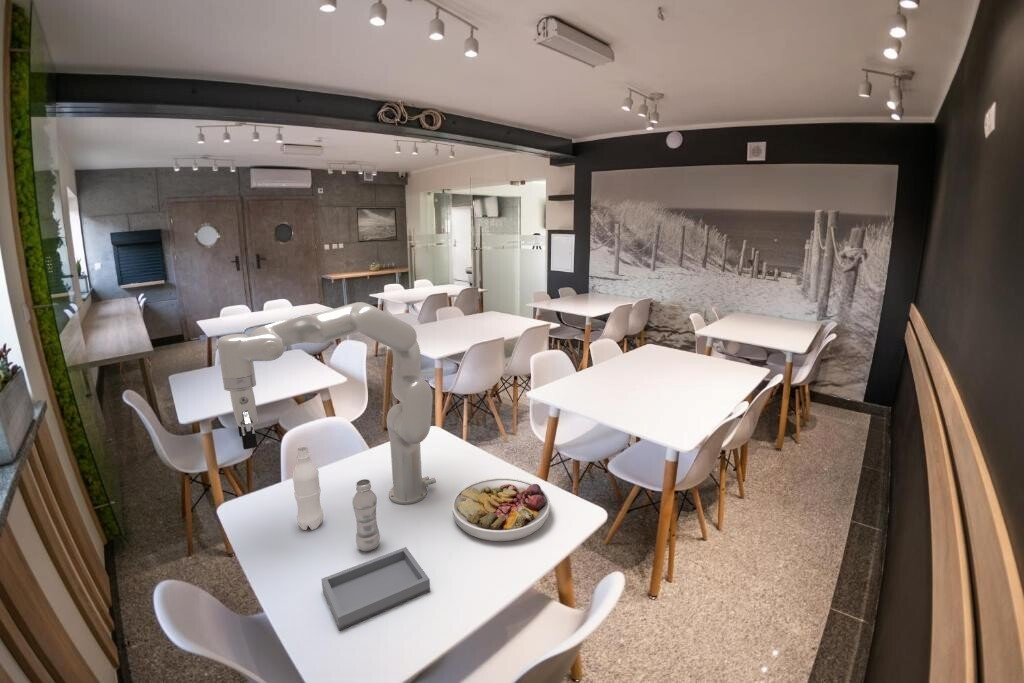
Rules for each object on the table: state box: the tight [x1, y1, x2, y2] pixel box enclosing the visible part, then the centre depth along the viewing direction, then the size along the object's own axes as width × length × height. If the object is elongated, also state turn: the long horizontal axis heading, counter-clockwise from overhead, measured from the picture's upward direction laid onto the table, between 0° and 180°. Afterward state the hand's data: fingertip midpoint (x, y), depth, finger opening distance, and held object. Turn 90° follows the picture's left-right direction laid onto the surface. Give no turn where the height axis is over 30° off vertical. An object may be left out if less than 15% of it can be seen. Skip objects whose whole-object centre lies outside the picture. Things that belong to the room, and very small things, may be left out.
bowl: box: [451, 477, 551, 542], centre depth 154 cm, size 30×30×8 cm
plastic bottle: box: [351, 478, 381, 552], centre depth 138 cm, size 6×7×20 cm
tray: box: [321, 546, 431, 632], centre depth 123 cm, size 22×15×4 cm
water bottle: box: [292, 446, 324, 531], centre depth 147 cm, size 7×7×25 cm
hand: (248, 441), depth 135 cm, fingers open, 9 cm apart
